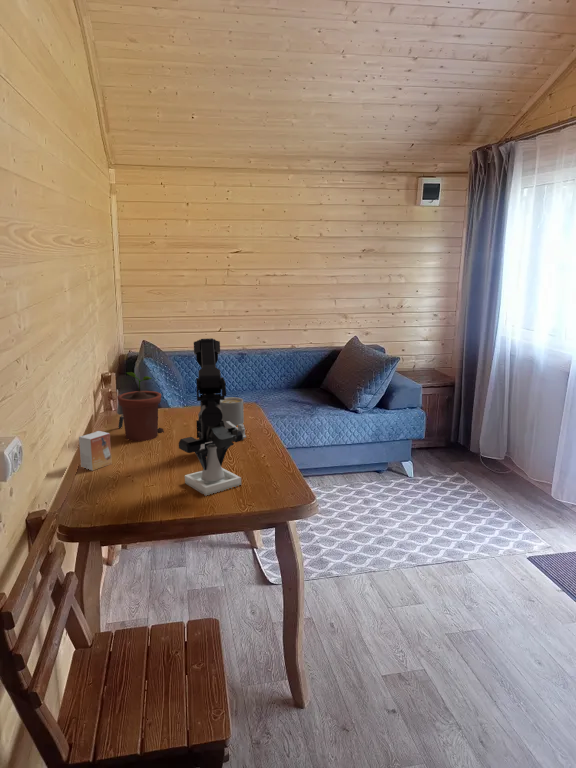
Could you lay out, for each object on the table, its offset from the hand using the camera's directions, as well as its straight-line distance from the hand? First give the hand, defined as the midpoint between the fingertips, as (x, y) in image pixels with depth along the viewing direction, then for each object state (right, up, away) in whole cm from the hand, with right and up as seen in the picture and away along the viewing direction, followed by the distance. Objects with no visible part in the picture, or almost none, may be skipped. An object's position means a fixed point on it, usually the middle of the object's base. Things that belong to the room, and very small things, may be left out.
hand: (212, 467), depth 165 cm
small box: (-40, -2, +16) cm, 43 cm away
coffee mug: (-2, +8, +63) cm, 64 cm away
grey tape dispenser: (+3, +4, +45) cm, 45 cm away
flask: (0, -3, +1) cm, 3 cm away
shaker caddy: (0, -5, +1) cm, 5 cm away
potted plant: (-34, +5, +49) cm, 60 cm away
